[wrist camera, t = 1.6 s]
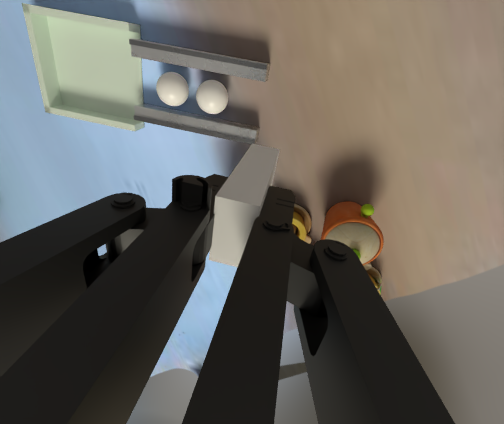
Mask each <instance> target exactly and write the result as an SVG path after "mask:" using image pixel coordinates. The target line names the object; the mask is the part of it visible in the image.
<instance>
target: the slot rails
mask: <svg viewBox="0 0 504 424" xmlns="http://www.w3.org/2000/svg"><path fill="white" fill-rule="evenodd" d="M129 44H131V56H133V57H138V58H143V59H149V60H154V61H159V62H164V63H169V64H175V65H180V66H185V67H190V68H195V69H201V70H206V71H211V72H216V73H221V74H227V75H232V76H237V77H242V78H247V79H252V80H258V81H263V82H266V81H267V80H268V75H269V69H270V64H269V63H264V62H259V61H253V60H248V59H243V58H237V57H232V56H226V55H221V54H216V53H210V52H205V51H200V50H194V49H189V48H184V47H178V46H173V45H168V44H162V43H157V42H151V41H146V40H141V39H133V38H130V39H129ZM134 108H135V115H134V120H138V121H143V122H147V123H152V124H157V125H162V126H166V127H171V128H176V129H180V130H185V131H190V132H195V133H199V134H204V135H209V136H214V137H218V138H223V139H228V140H232V141H237V142H242V143H247V144H251V145H252V143H253V144H256V142H257V140H258V134H259V128H260V127H257V126H252V125H247V124H242V123H237V122H232V121H228V120H223V119H218V118H213V117H208V116H203V115H198V114H194V113H189V112H184V111H179V110H174V109H169V108H165V107H160V106H155V105H150V104H145V103H142V104H138V105H134Z"/></svg>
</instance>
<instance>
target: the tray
mask: <svg viewBox="0 0 504 424" xmlns="http://www.w3.org/2000/svg"><path fill="white" fill-rule="evenodd" d="M22 6H23V11H24V16H25V20H26V25H27V29H28V34H29V39H30V43H31V48H32V52H33V57H34V61H35V66H36V71H37V75H38V80H39V84H40V89H41V94H42V98H43V103H44V107H45V112H48V113H52V114H57V115H61V116H66V117H71V118H75V119H80V120H85V121H89V122H94V123H99V124H103V125H108V126H113V127H117V128H122V129H126V130H131V131H137V130H140V129H142V128H144V122H143V121H138V120H134V115H135V108H134V105H138V104H142V103H143V82H142V59H141V58H138V57H133V56H131V44H129V39H130V38H133V39H141V35H140V25H137V24H132V23H128V22H122V21H117V20H111V19H106V18H100V17H95V16H89V15H84V14H78V13H73V12H67V11H62V10H56V9H51V8H45V7H40V6H34V5H29V4H23V3H22Z"/></svg>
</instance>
